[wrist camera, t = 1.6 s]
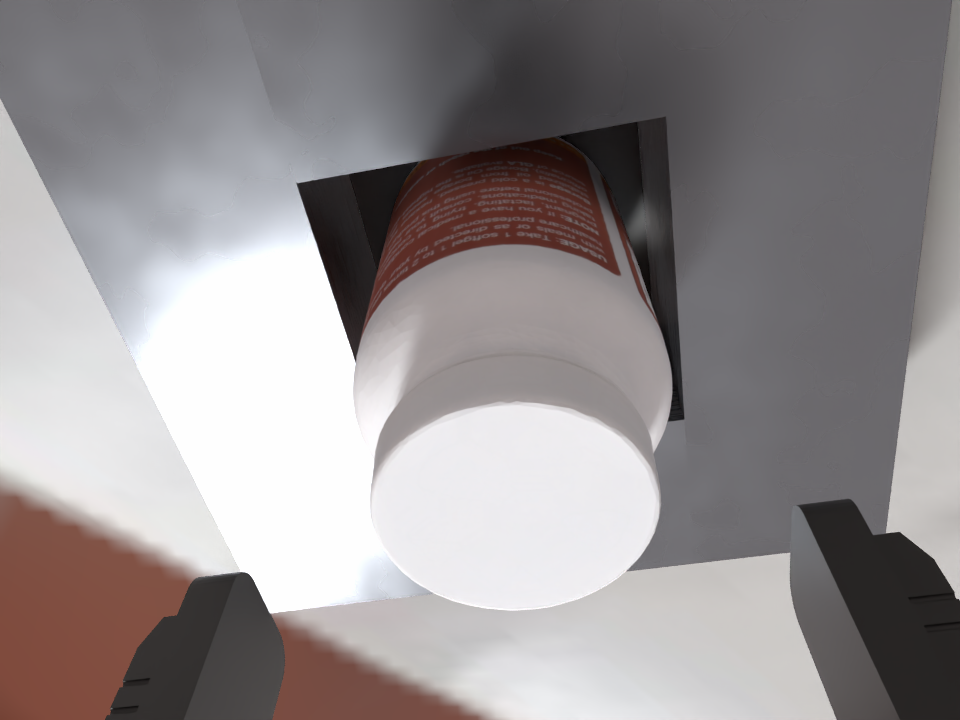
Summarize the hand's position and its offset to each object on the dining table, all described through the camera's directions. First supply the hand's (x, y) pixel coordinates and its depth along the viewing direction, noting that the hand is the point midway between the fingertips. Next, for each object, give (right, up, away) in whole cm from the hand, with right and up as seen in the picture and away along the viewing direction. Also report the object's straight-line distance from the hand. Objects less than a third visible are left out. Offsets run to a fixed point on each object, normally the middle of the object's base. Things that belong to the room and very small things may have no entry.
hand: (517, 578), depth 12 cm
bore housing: (0, +7, +10) cm, 12 cm away
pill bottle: (0, +7, +10) cm, 12 cm away
